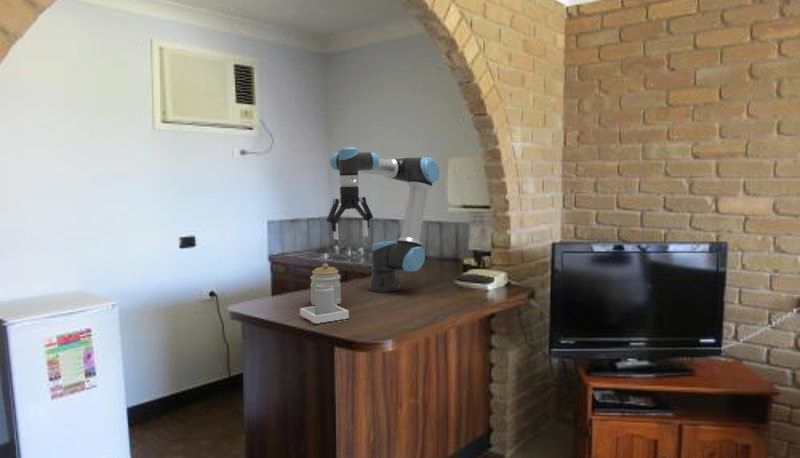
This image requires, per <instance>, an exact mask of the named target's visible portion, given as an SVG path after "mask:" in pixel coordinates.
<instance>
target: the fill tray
mask: <svg viewBox="0 0 800 458" xmlns="http://www.w3.org/2000/svg"><path fill="white" fill-rule="evenodd" d="M349 314H350V313H349V309H345V308H343V307H341V306H338V305H335V304H334V313H328V314H322V315H316V314H315V306H314V305H311V306H307V307H301V308H300V307H299V316H300V315H301V316H303V317H305V318H307V319H309V320H311V321H312V322H314V323H320V322H327V321H334V320H340V319H347V318H349V317H350V315H349ZM349 319H350V318H349Z"/></svg>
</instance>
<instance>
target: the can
mask: <svg viewBox="0 0 800 458" xmlns="http://www.w3.org/2000/svg"><path fill="white" fill-rule="evenodd" d="M314 294H315V314H316V315H322V314H328V313H334V288H333V287H332V285H331V284H318V285H316V288H315V289H314Z"/></svg>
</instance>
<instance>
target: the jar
mask: <svg viewBox="0 0 800 458" xmlns="http://www.w3.org/2000/svg"><path fill="white" fill-rule="evenodd" d="M339 272H340V270H339V269H337V268H336V267H333V266H329V264H328V263H326V262H325V263H322V266H321V267H316V268H315V269H313V270H312V272H311V273H312V275H311V276H310V279H311V283H310V303H311V306H314V305H315V294H314V289H315V288H316V285H318V284H331V285H332V287H333V288H334V304H335V305H337V306H338V304H339V305H340V304H341V302H342V294H341V293H342V292H341V287H342V286H341V285H342V283H341V281H340V280H341V277H342V276H341V274H339Z"/></svg>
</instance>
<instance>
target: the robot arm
mask: <svg viewBox="0 0 800 458" xmlns="http://www.w3.org/2000/svg"><path fill="white" fill-rule="evenodd" d="M329 163H330V164H329V165H330V166H331V169H332V170H334V171H338V172H339V185H340V187H339V195H340V198H333V201H332V206H331V208H330V211H329V213H328V216H327V218H326V222H327V223H330V225H331V231H332V232H333V239H334V240H339V239H340V238H339V223H337V222H338V221H339V219H340V218H341V216H342V215H343V213H344V212H345V211H346V210H351V209H352V210H353V209H355V210H356V211H357V212H358V214H359V215H360V216H361V217H362V221H361V222H362V236H363V237H369V235H368V234H369V233H368V229H369V228H370V221H371V220H372V219H373V218H374V216H373V213H372V211H371V210H370V207H369V205H368V203H367V199H366V196H360V197H359V194H360V192H359V191H360V188H359V186H358V185H359V173H362V174H370V175H371V174H372V175H377V176H383V177H385V178H386V179H390V180H396V181H400V182H405V183H407V186H408V187H409V191H408V196H407V203H406V208H405V213H404V220H403V225H402V230H401V234H400V235H401V236H400V237H399V238H398V239H397V240H389V241H387V240H386V241H380V242H379V241H378V242H374V243H373V244H372V248H371V268H372V269H371V270H372V272H371V273H372V274H371V276H370V280H369V283H368V290H369V291H371V292H376V293H389V292H390V293H391V292H397V291H399V290H401V283H400V280H399V277H398V274H397V270H398V271H403V272H404V271H405V272H407V273H409V272H416V271H419V270H420V269H421V267H422V266H423V265H424V262H425V259H426V253H425V250H424V248H423V246H422V243H421V241H420V237H421V231H422V226H423V222H424V214H425V210H426V203H427V198H428V197H427V196H428V192H429V191H430V190H431V189H432V188H433V183H436V182H437V181H438V180H439V176H440V169H439V165H438V163H437V161H436V160H435V159H434V158H433V157H432V158H431V157H426V156H423V157H402V158H387V159H383V158H379V156H378V154H377V153H376V152H371V151H365V152H364V151H362V152H358V148H357V147H340V148H339V150H338V152H336V153H333V154H332V155H331V157H330V159H329ZM359 203H360V204H361V205H359ZM339 204H340V206H339ZM338 207H339V208H338ZM361 207H362V208H361Z"/></svg>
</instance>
